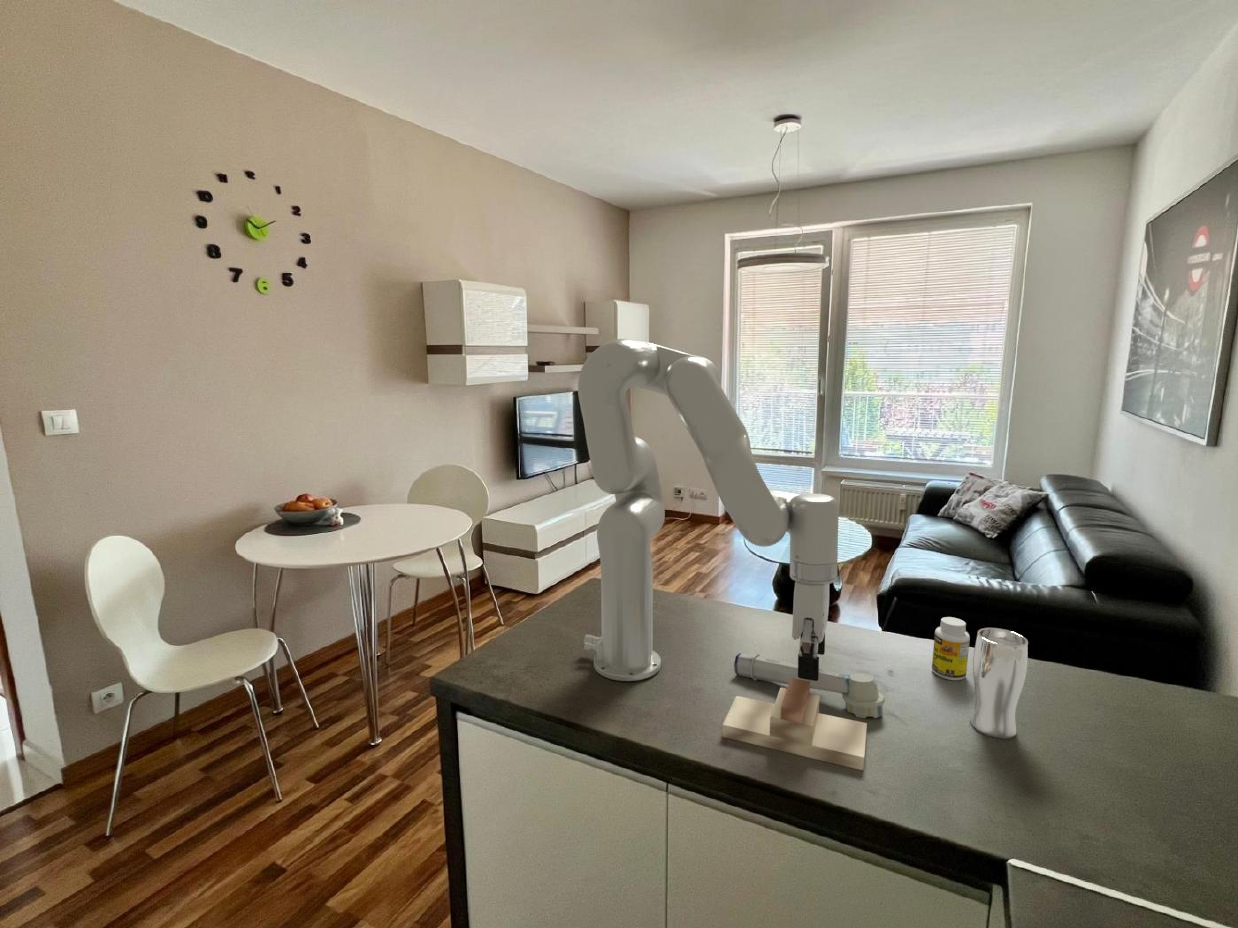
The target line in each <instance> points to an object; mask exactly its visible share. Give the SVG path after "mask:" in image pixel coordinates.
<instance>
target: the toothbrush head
mask: <svg viewBox="0 0 1238 928" xmlns="http://www.w3.org/2000/svg"><path fill="white" fill-rule="evenodd" d="M733 669H734V673H735V675H736V676H740V677H745V678H748V679H749V678H751V679H752V680H753V681H756V682H757V681H758V680H761V681H766V682H772V683H777V684H778V683H779V684H783V685H788V684H789V681H790V678H795V679H800V680H805V681H810V689H813V690H818V691H820V690H821V691H826V692H831V693H837V694H841V696H842V700H843V701H844V702H845V709H846V710H847V712H848V713H852V714H853V715H855V717H857V718H859V719H861V718H862V719H866V718H867V717H872V718H873V719H876V718H880V717H882V716H883V713H884V711H883V710H884V709H883V706H884V703H885V702H886V700H885V699H886V697H885V696H884V695H883V694H882V692H880V691H879V690H878V685H877V682H876V680H875V679H874V677H873V676H872V675H870V674H866V673H853V674H851V675H848V674H843V673H839V672H835V671H830V670H825V669H820V668H819V678H818V681H813V680H807V679H801V678H799V677H798V663H792V662H787V661H784V660H778V659H774V658H770V657H764V656H761V655H760V654H759V653H756V654H747V653H740V652H739V653H737V655H736V656H735V660H734V661H733Z"/></svg>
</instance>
